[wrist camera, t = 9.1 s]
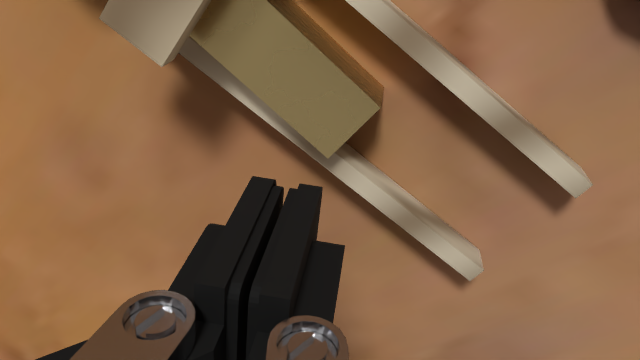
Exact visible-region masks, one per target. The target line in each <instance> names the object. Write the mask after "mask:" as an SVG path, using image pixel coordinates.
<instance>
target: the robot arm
mask: <svg viewBox="0 0 640 360" xmlns="http://www.w3.org/2000/svg"><path fill="white" fill-rule="evenodd" d="M283 195H284V188H283V187H280V186H276V180H274V179H268V178H261V177H255V176H253V177H252V178H251V180H250V181H249V183H248V185H247V187H246V189H245V191H244V192H243V194H242V196H241V198H240V200H239V202H238V203H237V205H236V207H235V209H234V211H233V213H232V214H231V216H230V218H229V220H228V222H227V224H226V225H225V226H224V225H218V224H212V223H211V224H208V226H207V227H206V228H205V230H204V232H203V233H202V235H201V237H200V238H199V240H198V242H197V243H196V245H195V247H194V248H193V250H192V251H191V253H190V255H189V256H188V258H187V260H186V261H185V263H184V265H183V266H182V268H181V270H180V271H179V273H178V275H177V276H176V278H175V280H174V281H173V283H172V285H171V286H170V288H169V290H168V291H167V290H155V291H149V292H145V293H140V294H138V295H136V296H134V297H132V298H130V299H128V300H127V301H126V302H125V303H123V304H122V305H121V306H120V307H119V308H118V309H117V310H116V311H115V312H114V313H113V314H112V315H111V316H110V317H109V318H108V320H107V321H106V322H105V323H104V324H103V325H102V326H101V327H100V328H99V329H98V330H97V331H96V332H95V333H94V334H93V335H92V336H91V338H90V339H89V340H86V341H83V342H81V343H78V344H75V345H73V346H70V347H67V348H65V349H62V350H59V351H57V352H54V353H52V354H49V355H46V356H44V357H41V358H38V359H36V360H349V352H348V345H347V341H346V337H345V336H344V335H343V333H342V332H341V330H340V329H339V328H338V327H336V326H335V325H334V324H333V319H334V313H335V307H336V300H337V294H338V288H339V281H340V275H341V268H342V262H343V255H344V249H345V245H339V244H333V243H327V242H321V241H316V240H317V232H318V223H319V215H320V207H321V198H322V187H319V186H312V185H306V184H299V186H298V189H293V188H290V189H289V191H288V194H287V196H286V199H285V202H284V204H283Z"/></svg>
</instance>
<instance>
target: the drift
mask: <svg viewBox="0 0 640 360" xmlns="http://www.w3.org/2000/svg"><path fill="white" fill-rule="evenodd" d="M189 36H190V37H191V38H193V39H194V40H195V41H196V42H197V43H198V44H199V45H200V46H202V47H203V48H204V49H205V50H206V51H207V52H208V53H209V54H211V55H212V56H213V57H214V58H215V59H216V60H217V61H218V62H220V63H221V64H222V65H223V66H224V67H225V68H226V69H227V70H229V71H230V72H231V73H232V74H233V75H234V76H235V77H236V78H238V79H239V80H240V81H241V82H242V83H243V84H244V85H245V86H247V87H248V88H249V89H250V90H251V91H252V92H253V93H254V94H256V95H257V96H258V97H259V98H260V99H261V100H262V101H263V102H265V103H266V104H267V105H268V106H269V107H270V108H271V109H272V110H274V111H275V112H276V113H277V114H278V115H279V116H280V117H281V118H283V119H284V120H285V121H286V122H287V123H288V124H289V125H290V126H292V127H293V128H294V129H295V130H296V131H297V132H298V133H299V134H301V135H302V136H303V137H304V138H305V139H306V140H307V141H308V142H310V143H311V144H312V145H313V146H314V147H315V148H316V149H317V150H319V151H320V152H321V153H322V154H323V155H324V156H325V157H326V158H329V157H330V156H331V155H332V154H333V153H334V152H336V151H337V150H338V149H339V148H340V147H341V146H342V145H343V144H344V143H345V142H346V141H347V140H348V139H349V138H350V137H351V136H352V135H353V134H354V133H355V132H356V131H357V130H358V129H359V128H360V127H361V126H362V125H363V124H364V123H365V122H367V121H368V120H369V119H370V118H371V117H372V116H373V115H374V114H375V113H376V112H377V111H378V110H379V109H380V108H381V103H382V96H383V90H384V87H383V86H382V85H381V84H380V83H379V82H378V81H377V80H376V79H375V78H374V77H373V76H372V75H371V74H369V73H368V72H367V71H366V70H365V69H364V68H363V67H362V66H361V65H360V64H359V63H358V62H357V61H356V60H355V59H354V58H353V57H352V56H351V55H350V54H348V53H347V52H346V51H345V50H344V49H343V48H342V47H341V46H340V45H339V44H338V43H337V42H336V41H335V40H334V39H333V38H332V37H331V36H330V35H329V34H327V33H326V32H325V31H324V30H323V29H322V28H321V27H320V26H319V25H318V24H317V23H316V22H315V21H314V20H313V19H312V18H311V17H310V16H309V15H308V14H306V13H305V12H304V11H303V10H302V9H301V8H300V7H299V6H298V5H297V4H296V3H295V2H294V1H293V0H211V2H210V3H209V5H208V7H207V8H206V10H205V11H204V13H203V14H202V16H201V18H200V19H199V21H198V22H197V24H196V26H195V27H194V29H193V30H192V32H191V34H190V35H189Z"/></svg>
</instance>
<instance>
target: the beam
mask: <svg viewBox="0 0 640 360" xmlns="http://www.w3.org/2000/svg"><path fill="white" fill-rule="evenodd" d="M345 1H347V2H348V3H349V4H350V5H351V6H352V7H354V8H355V9H356V10H357V11H358V12H359V13H361V14H362V15H363V16H364V17H365V18H366V19H367V20H369V21H370V22H371V23H372V24H373V25H374V26H376V27H377V28H378V29H379V30H380V31H381V32H383V33H384V34H385V35H386V36H387V37H388V38H390V39H391V40H392V41H393V42H394V43H395V44H397V45H398V46H399V47H400V48H401V49H402V50H404V51H405V52H406V53H407V54H408V55H409V56H411V57H412V58H413V59H414V60H415V61H416V62H418V63H419V64H420V65H421V66H422V67H423V68H425V69H426V70H427V71H428V72H429V73H430V74H432V75H433V76H434V77H435V78H436V79H437V80H439V81H440V82H441V83H442V84H443V85H444V86H445V87H447V88H448V89H449V90H450V91H451V92H452V93H454V94H455V95H456V96H457V97H458V98H459V99H461V100H462V101H463V102H464V103H465V104H466V105H468V106H469V107H470V108H471V109H472V110H473V111H475V112H476V113H477V114H478V115H479V116H480V117H482V118H483V119H484V120H485V121H486V122H487V123H489V124H490V125H491V126H492V127H493V128H494V129H496V130H497V131H498V132H499V133H500V134H501V135H503V136H504V137H505V138H506V139H507V140H508V141H510V142H511V143H512V144H513V145H514V146H515V147H517V148H518V149H519V150H520V151H521V152H522V153H524V154H525V155H526V156H527V157H528V158H529V159H530V160H532V161H533V162H534V163H535V164H536V165H537V166H539V167H540V168H541V169H542V170H543V171H544V172H546V173H547V174H548V175H549V176H550V177H551V178H553V179H554V180H555V181H556V182H557V183H558V184H560V185H561V186H562V187H563V188H564V189H565V190H567V191H568V192H569V193H570V194H571V195H572V196H574V197H575V198H577V197H578V196H580V195H581V194H582V193H583V192H585V191H586V190H587V189H589V188H590V187H591V186H592V185H593V184H592V183H591V181H590V180H589V178H588V177H587V175H586V174H585V172H584V171H583V170H582V168H581V167H580V166H579V165H578V164H577V163H575V162H574V161H573V160H572V159H571V158H570V157H569V156H567V155H566V154H565V153H564V152H563V151H562V150H561V149H559V148H558V147H557V146H556V145H555V144H554V143H553V142H551V141H550V140H549V139H548V138H547V137H546V136H545V135H543V134H542V133H541V132H540V131H539V130H538V129H537V128H535V127H534V126H533V125H532V124H531V123H530V122H529V121H527V120H526V119H525V118H524V117H523V116H522V115H521V114H519V113H518V112H517V111H516V110H515V109H514V108H513V107H511V106H510V105H509V104H508V103H507V102H506V101H505V100H503V99H502V98H501V97H500V96H499V95H498V94H497V93H495V92H494V91H493V90H492V89H491V88H490V87H489V86H487V85H486V84H485V83H484V82H483V81H482V80H481V79H479V78H478V77H477V76H476V75H475V74H474V73H473V72H471V71H470V70H469V69H468V68H467V67H466V66H465V65H463V64H462V63H461V62H460V61H459V60H458V59H457V58H455V57H454V56H453V55H452V54H451V53H450V52H449V51H447V50H446V49H445V48H444V47H443V46H442V45H441V44H439V43H438V42H437V41H436V40H435V39H434V38H433V37H431V36H430V35H429V34H428V33H427V32H426V31H425V30H423V29H422V28H421V27H420V26H419V25H418V24H417V23H415V22H414V21H413V20H412V19H411V18H410V17H409V16H407V15H406V14H405V13H404V12H403V11H402V10H401V9H399V8H398V7H397V6H396V5H395V4H394V3H393V2H391V1H390V0H345ZM210 2H211V0H108V2H107V4H106V6H105V8H104V10H103V12H102V14H101V16H100V18H99V19H100V20H102V21H103V22H104V23H105V24H107V25H108V26H109V27H111V28H112V29H113V30H115V31H116V32H117V33H118V34H120V35H121V36H122V37H124V38H125V39H126V40H127V41H129V42H130V43H131V44H133V45H134V46H135V47H136V48H138V49H139V50H140V51H142V52H143V53H144V54H146V55H147V56H148V57H149V58H151V59H152V60H153V61H155V62H156V63H157V64H158V65H160V66H161V67H163V66H164V65H166V64H168V63H170V62H171V61H173V60H174V59H175V57H176V56H177V54H178V53H179V54H181V55H182V56H183V57H184V58H186V59H187V60H188V61H189V62H191V63H192V64H193V65H195V66H196V67H197V68H198V69H200V70H201V71H202V72H204V73H205V74H206V75H207V76H209V77H210V78H211V79H212V80H214V81H215V82H216V83H218V84H219V85H220V86H221V87H223V88H224V89H225V90H226V91H228V92H229V93H230V94H232V95H233V96H234V97H235V98H237V99H238V100H239V101H241V102H242V103H243V104H244V105H246V106H247V107H248V108H249V109H251V110H252V111H253V112H255V113H256V114H257V115H258V116H260V117H261V118H262V119H264V120H265V121H266V122H267V123H269V124H270V125H271V126H272V127H274V128H275V129H276V130H278V131H279V132H280V133H281V134H283V135H284V136H285V137H286V138H288V139H289V140H290V141H292V142H293V143H294V144H295V145H297V146H298V147H299V148H301V149H302V150H303V151H304V152H306V153H307V154H308V155H309V156H311V157H312V158H313V159H315V160H316V161H317V162H318V163H320V164H321V165H322V166H324V167H325V168H326V169H327V170H329V171H330V172H331V173H332V174H334V175H335V176H336V177H338V178H339V179H340V180H341V181H343V182H344V183H345V184H346V185H348V186H349V187H350V188H352V189H353V190H354V191H355V192H357V193H358V194H359V195H361V196H362V197H363V198H364V199H366V200H367V201H368V202H369V203H371V204H372V205H373V206H375V207H376V208H377V209H378V210H380V211H381V212H382V213H384V214H385V215H386V216H387V217H389V218H390V219H391V220H392V221H394V222H395V223H396V224H398V225H399V226H400V227H401V228H403V229H404V230H405V231H406V232H408V233H409V234H410V235H412V236H413V237H414V238H415V239H417V240H418V241H419V242H421V243H422V244H423V245H424V246H426V247H427V248H428V249H429V250H431V251H432V252H433V253H435V254H436V255H437V256H438V257H440V258H441V259H442V260H444V261H445V262H446V263H447V264H449V265H450V266H451V267H452V268H454V269H455V270H456V271H458V272H459V273H460V274H461V275H463V276H464V277H465V278H466V279H468V280H469V281H471V280H472V279H474V278H475V277H476V276H477V275H479V274H480V273H481V272H483V271H484V269H483V265H482V260H481V255H480V250H479V249H478V248H477V247H475V246H474V245H473V244H472V243H470V242H469V241H468V240H467V239H465V238H464V237H463V236H462V235H460V234H459V233H458V232H457V231H455V230H454V229H453V228H452V227H450V226H449V225H448V224H447V223H445V222H444V221H443V220H442V219H440V218H439V217H438V216H437V215H435V214H434V213H433V212H432V211H430V210H429V209H428V208H427V207H425V206H424V205H423V204H422V203H420V202H419V201H418V200H417V199H415V198H414V197H413V196H412V195H410V194H409V193H408V192H407V191H405V190H404V189H403V188H402V187H400V186H399V185H398V184H397V183H395V182H394V181H393V180H392V179H390V178H389V177H388V176H387V175H385V174H384V173H383V172H382V171H380V170H379V169H378V168H377V167H375V166H374V165H373V164H372V163H370V162H369V161H368V160H367V159H365V158H364V157H363V156H362V155H360V154H359V153H358V152H357V151H355V150H354V149H353V148H352V147H350V146H349V145H348V144H347V143H344V144H343V145H342V146H341V147H340V148H339V149H338V150H337V151H336V152H334V153H333V154H332V155H331V156H330V157H329V158H326V157H325V156H324V155H323V154H322V153H321V152H320V151H319V150H317V149H316V148H315V147H314V146H313V145H312V144H311V143H310V142H308V141H307V140H306V139H305V138H304V137H303V136H302V135H301V134H299V133H298V132H297V131H296V130H295V129H294V128H293V127H292V126H290V125H289V124H288V123H287V122H286V121H285V120H284V119H283V118H281V117H280V116H279V115H278V114H277V113H276V112H275V111H274V110H272V109H271V108H270V107H269V106H268V105H267V104H266V103H265V102H263V101H262V100H261V99H260V98H259V97H258V96H257V95H256V94H254V93H253V92H252V91H251V90H250V89H249V88H248V87H247V86H245V85H244V84H243V83H242V82H241V81H240V80H239V79H238V78H236V77H235V76H234V75H233V74H232V73H231V72H230V71H229V70H227V69H226V68H225V67H224V66H223V65H222V64H221V63H220V62H218V61H217V60H216V59H215V58H214V57H213V56H212V55H211V54H209V53H208V52H207V51H206V50H205V49H204V48H203V47H202V46H200V45H199V44H198V43H197V42H196V41H195V40H194V39H193V38H191V37H190V36H189V35H190V34H191V32H192V30H193V29H194V27H195V26H196V24H197V22H198V21H199V19H200V18H201V16H202V14H203V13H204V11H205V10H206V8H207V7H208V5H209V3H210Z"/></svg>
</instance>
